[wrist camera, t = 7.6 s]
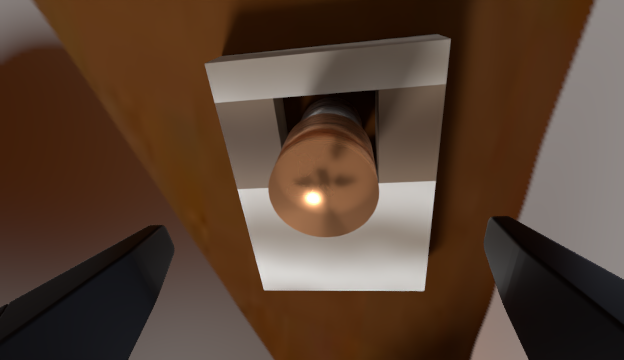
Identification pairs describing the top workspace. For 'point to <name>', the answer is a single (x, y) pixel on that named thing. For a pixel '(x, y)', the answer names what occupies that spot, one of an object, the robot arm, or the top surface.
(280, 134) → the white block
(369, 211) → the brown round tapered piece
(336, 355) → the top surface
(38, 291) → the robot arm
